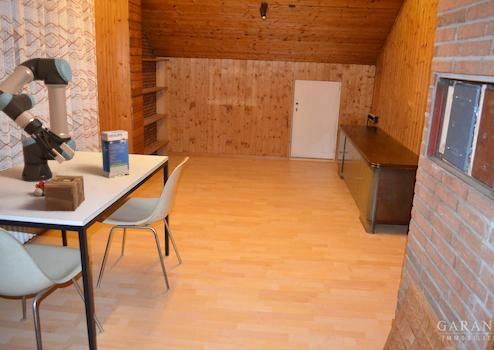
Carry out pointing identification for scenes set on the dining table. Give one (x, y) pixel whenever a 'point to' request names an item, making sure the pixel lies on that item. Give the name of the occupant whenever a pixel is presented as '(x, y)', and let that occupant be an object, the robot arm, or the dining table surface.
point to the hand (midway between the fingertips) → (68, 158)
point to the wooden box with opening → (64, 193)
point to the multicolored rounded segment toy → (40, 188)
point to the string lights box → (115, 153)
